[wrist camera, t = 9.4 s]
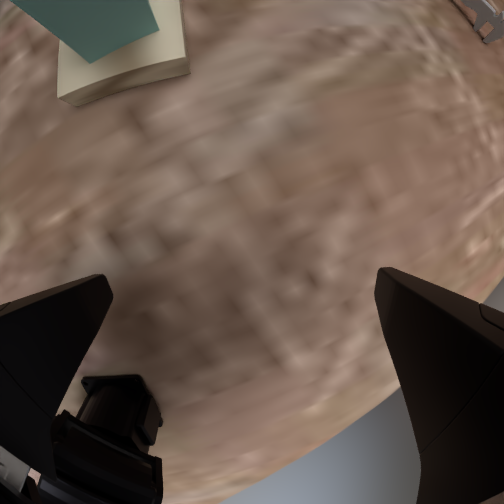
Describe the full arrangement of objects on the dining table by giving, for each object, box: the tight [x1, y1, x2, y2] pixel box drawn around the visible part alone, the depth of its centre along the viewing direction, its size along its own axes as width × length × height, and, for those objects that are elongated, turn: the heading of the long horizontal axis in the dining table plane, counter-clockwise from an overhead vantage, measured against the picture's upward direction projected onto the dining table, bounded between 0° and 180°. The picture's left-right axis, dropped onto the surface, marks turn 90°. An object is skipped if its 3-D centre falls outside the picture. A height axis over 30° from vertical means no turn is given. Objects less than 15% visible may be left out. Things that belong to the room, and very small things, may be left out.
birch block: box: [57, 0, 191, 107], centre depth 14 cm, size 9×9×4 cm
